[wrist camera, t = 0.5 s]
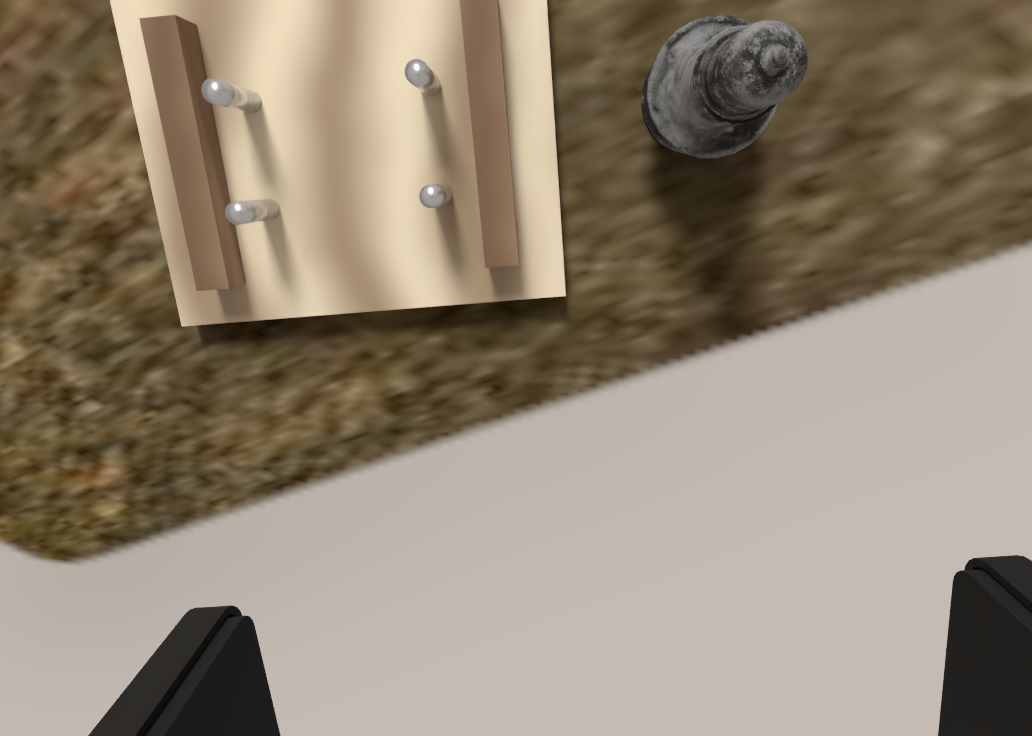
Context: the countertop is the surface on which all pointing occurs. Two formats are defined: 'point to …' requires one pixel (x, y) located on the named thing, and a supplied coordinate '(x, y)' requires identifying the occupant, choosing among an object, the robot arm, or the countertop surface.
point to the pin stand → (347, 152)
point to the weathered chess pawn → (721, 83)
